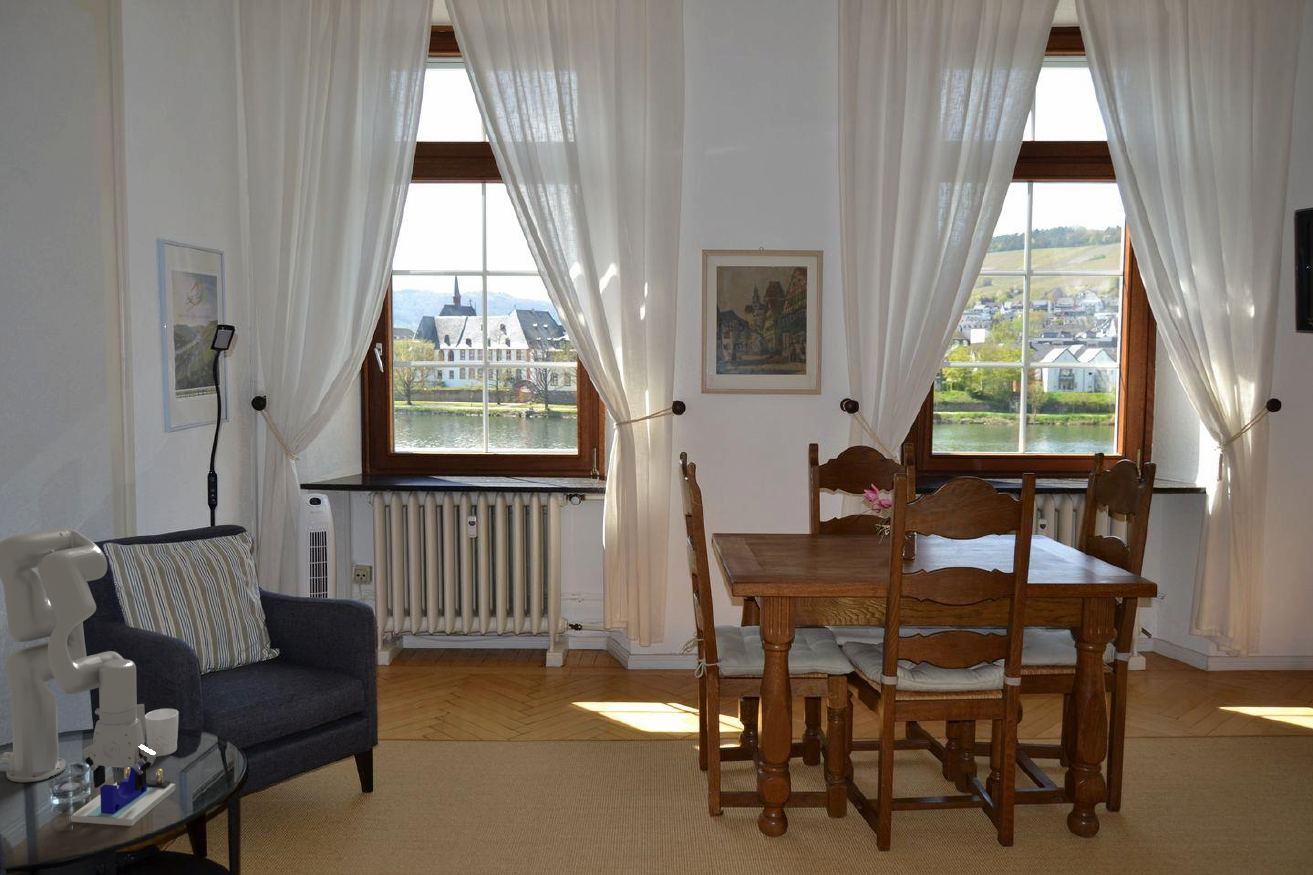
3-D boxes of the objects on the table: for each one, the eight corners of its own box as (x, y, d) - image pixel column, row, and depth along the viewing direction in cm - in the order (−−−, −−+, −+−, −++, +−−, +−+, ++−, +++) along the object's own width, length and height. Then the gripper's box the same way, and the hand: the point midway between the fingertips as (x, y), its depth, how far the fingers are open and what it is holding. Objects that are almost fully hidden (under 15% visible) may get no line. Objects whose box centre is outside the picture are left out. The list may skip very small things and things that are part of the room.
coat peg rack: (117, 784, 246) (116, 768, 246) (122, 781, 248) (121, 765, 248) (165, 788, 245) (165, 771, 245) (170, 784, 247) (169, 768, 247)
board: (71, 821, 231) (71, 814, 231) (119, 786, 249) (119, 779, 249) (131, 825, 230) (131, 818, 230) (175, 789, 248) (175, 782, 248)
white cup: (162, 759, 264) (162, 721, 263) (138, 754, 267) (137, 717, 266) (186, 747, 272) (185, 711, 271) (162, 743, 274) (161, 706, 273)
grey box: (145, 742, 274) (144, 706, 273) (116, 747, 271) (115, 710, 270) (144, 737, 277) (143, 701, 276) (116, 742, 274) (115, 705, 273)
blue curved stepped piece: (129, 788, 244) (128, 764, 243) (146, 790, 243) (146, 765, 243) (94, 812, 232) (94, 786, 232) (113, 814, 232) (112, 788, 231)
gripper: (71, 718, 233) (73, 791, 234) (145, 723, 231) (147, 797, 233) (92, 706, 240) (94, 776, 242) (164, 711, 239) (165, 782, 241)
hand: (120, 786), depth 238 cm, fingers open, 9 cm apart
